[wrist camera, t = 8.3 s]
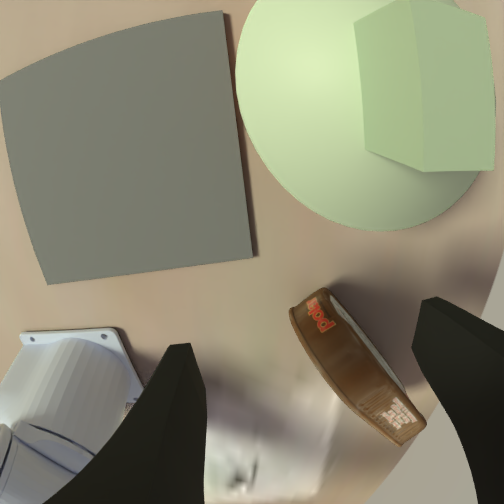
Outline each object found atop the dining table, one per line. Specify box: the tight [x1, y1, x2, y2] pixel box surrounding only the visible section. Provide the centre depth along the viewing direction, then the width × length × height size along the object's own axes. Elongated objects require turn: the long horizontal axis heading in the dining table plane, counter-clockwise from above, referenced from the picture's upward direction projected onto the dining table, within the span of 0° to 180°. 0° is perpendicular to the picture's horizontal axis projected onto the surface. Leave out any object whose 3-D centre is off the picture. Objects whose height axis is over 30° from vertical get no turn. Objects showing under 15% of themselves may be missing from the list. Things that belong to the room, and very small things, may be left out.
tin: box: [289, 288, 427, 447], centre depth 19 cm, size 15×3×8 cm, turn 39°
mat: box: [0, 10, 253, 285], centre depth 16 cm, size 14×14×1 cm
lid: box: [235, 0, 496, 231], centre depth 9 cm, size 12×12×5 cm
